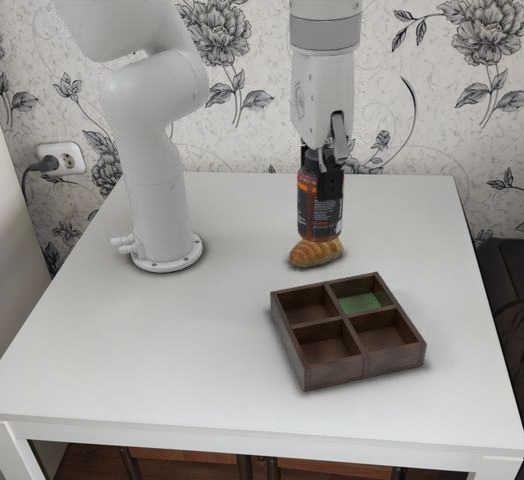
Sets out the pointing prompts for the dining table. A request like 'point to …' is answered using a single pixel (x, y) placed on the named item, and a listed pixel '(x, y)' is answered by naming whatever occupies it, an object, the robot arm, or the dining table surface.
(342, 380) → the grid
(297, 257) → the pastry
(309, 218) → the supplement bottle
